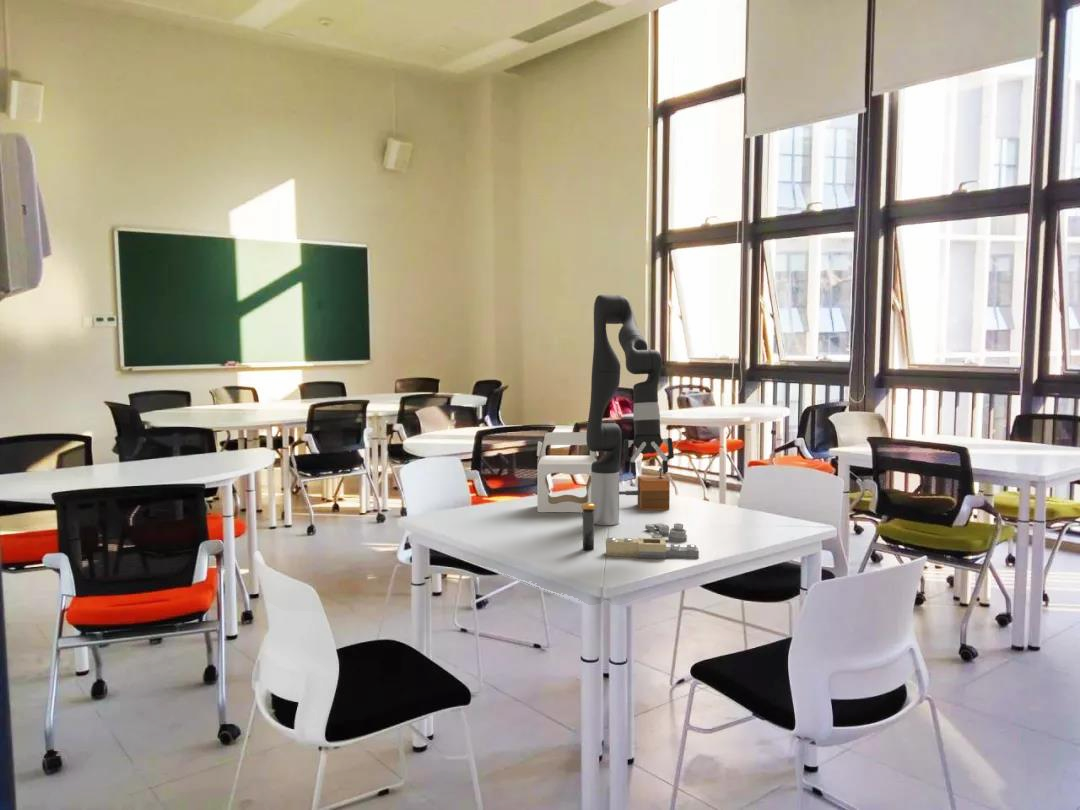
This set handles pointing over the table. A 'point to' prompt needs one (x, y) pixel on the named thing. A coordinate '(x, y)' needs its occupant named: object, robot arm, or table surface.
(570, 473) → the white open frame
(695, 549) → the chain end
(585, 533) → the pin
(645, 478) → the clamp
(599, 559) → the table surface
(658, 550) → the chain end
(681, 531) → the pulley system
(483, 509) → the table surface
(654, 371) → the robot arm
